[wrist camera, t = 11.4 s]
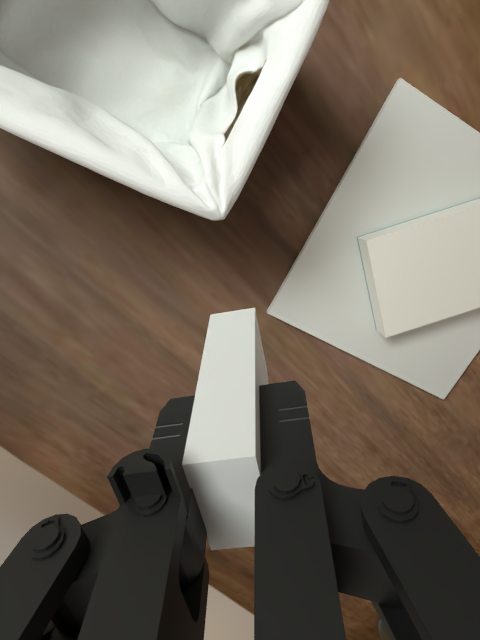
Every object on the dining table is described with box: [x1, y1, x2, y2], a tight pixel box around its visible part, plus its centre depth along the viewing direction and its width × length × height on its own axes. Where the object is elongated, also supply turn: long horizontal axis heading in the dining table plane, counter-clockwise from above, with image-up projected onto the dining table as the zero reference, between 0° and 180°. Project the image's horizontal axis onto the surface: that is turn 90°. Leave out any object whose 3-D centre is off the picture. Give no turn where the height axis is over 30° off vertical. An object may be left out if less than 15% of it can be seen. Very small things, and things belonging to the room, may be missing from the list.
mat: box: [266, 78, 480, 400], centre depth 44 cm, size 24×23×1 cm
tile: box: [357, 197, 480, 338], centre depth 43 cm, size 2×10×14 cm
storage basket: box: [0, 0, 330, 221], centre depth 30 cm, size 24×16×15 cm
